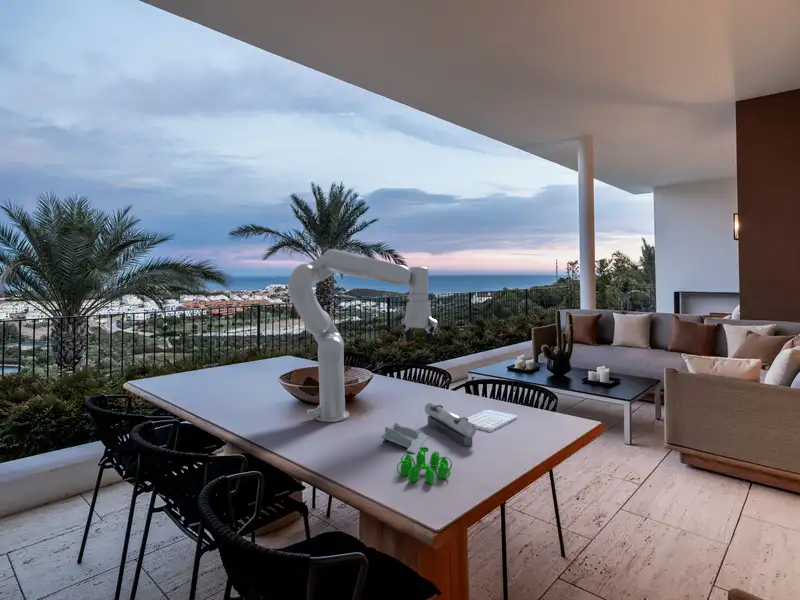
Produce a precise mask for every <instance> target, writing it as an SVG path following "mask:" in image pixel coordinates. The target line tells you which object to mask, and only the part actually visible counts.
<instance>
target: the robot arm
mask: <svg viewBox="0 0 800 600" xmlns="http://www.w3.org/2000/svg"><path fill="white" fill-rule="evenodd" d="M336 273H337V274H341V275H345V276H346V275H347V276H349V277H350V276H351V277H354V278H359V279H362V280H374V281H379V282H384V283H388V284H391V285H394V286H396V287H397V286H402V287H403V286H405V285H408V293H409V294H408V295H407V297H406V298H407V300H408V301H407V303H406V308H405V316H404V317H403V318H402V319H401V320H400V322H401V325H402V328H403V330H404V332H405V343H406V342H408V343H409V342H412V341H413V329H424V330H425V331H426V333H425V344H426V345H427V344H428V345H429V344H432V343H433V333H434V332H435V330H436V329H437V326H438V323H439V322H438V321H437V320H436V319H434V318H432V317H433V316H432V309H431V304H430V302H429V269H428V268H427V267H426V266H411V267H406V266H405V265H401V264H397V263H393V262H390V261H385V260H380V259H375V258H373V257H370V256H366V255H362V254H358V253H357V254H356V253H352V252H348V251H344V250H341V249H337V248H336V249H335V248H330V249H327V250H325V252H323V254H322V256H320V257H318V258H317V259H315V260H313V261H310V262H309V263H301V264H298V265H297V266H296V267H295V268H294V270H293V271H292V272H291V273H290V276H289V279H288V281H287V283H288V284H287V291H288V294H289V297H290V300H291V302H292V304H293V306H294V308H295V309H296V312H297V313H298V315H299V318H300V319H301V321H302V322H303V325H304V327H305V329H306V331H308V333H310V334H311V335H312V336H313V338H314V340H315V341H316V343H317V344H318V346H317V360H318V361H317V365H318V380H319V381H318V384H319V387H318V388H319V390H318V391H319V395H318V396H319V405H317V407H315V408H313V409H307V410H306V412H307V413H306V414H307V415H308V416H309V415H310V416H311V415H312V416H315V419H316V420H317V421H319V422H322V423H336V422H341V421H345V420H347V419H349V417H350V412H349V411H347V410H346V397H345V393H346V392H345V365H344V364H345V363H344V362H345V361H344V360H345V358H344V357H345V356H344V355H345V353H344V351H345V348H344V347H345V345H344V344H345V343H344V340H343V338H342V336H341V333H340V332H339V330H338V329H337V326H336V325H335V323H334V321H333V319H332V318H331V316H330V314H329V313H328V312H327V311H326V310H324V309H323V308H322V306H321V305H320V303H319V301H318V299H317V297H316V296H315V294H314V291H313V289H312V288H313V287H312V286H314V285H317V284H319V283H320V282H322V281H323V280H325V279H327V278H329V277H330V276H332V275H334V274H336Z"/></svg>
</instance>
